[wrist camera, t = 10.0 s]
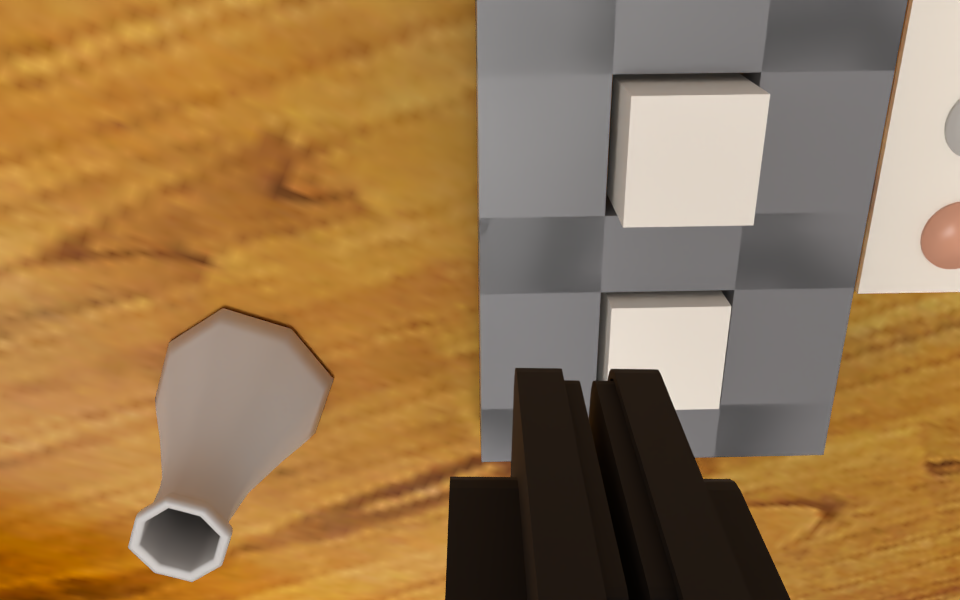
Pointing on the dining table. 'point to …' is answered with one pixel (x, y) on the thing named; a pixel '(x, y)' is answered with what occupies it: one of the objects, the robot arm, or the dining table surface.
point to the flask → (223, 433)
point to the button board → (678, 250)
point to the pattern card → (919, 163)
